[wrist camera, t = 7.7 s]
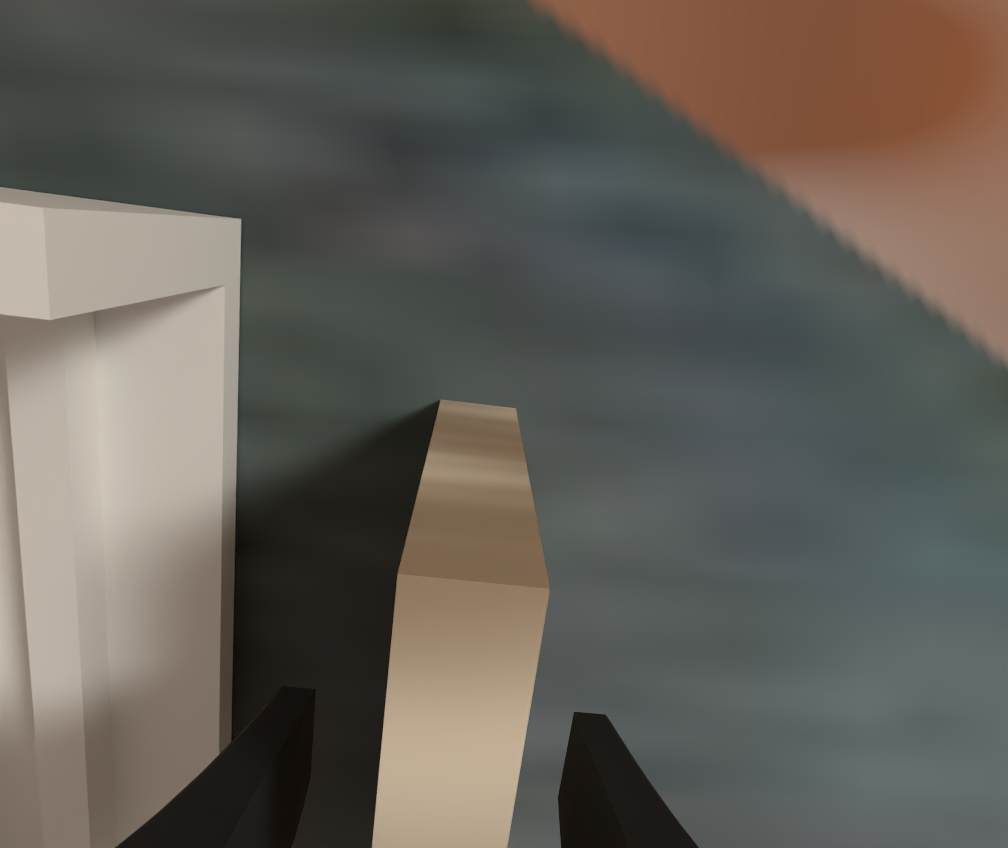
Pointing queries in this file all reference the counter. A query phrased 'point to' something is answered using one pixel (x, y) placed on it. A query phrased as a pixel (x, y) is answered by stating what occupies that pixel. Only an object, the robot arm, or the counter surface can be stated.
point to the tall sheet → (462, 639)
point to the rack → (113, 511)
